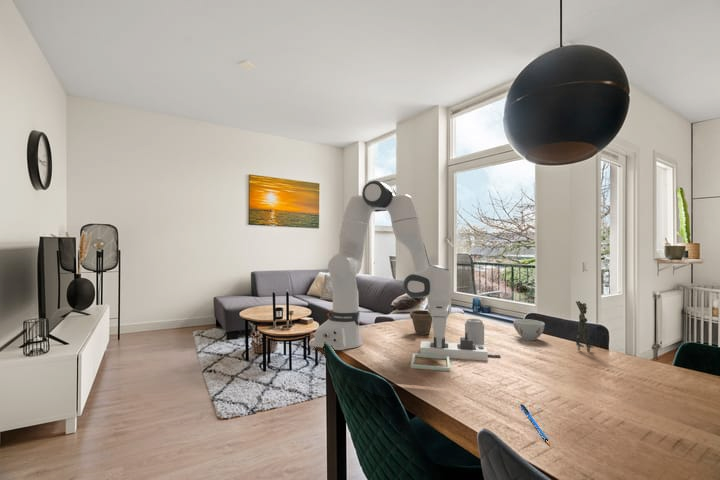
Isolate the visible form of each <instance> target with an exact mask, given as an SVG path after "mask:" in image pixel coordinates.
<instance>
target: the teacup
mask: <svg viewBox="0 0 720 480" xmlns="http://www.w3.org/2000/svg"><path fill="white" fill-rule="evenodd" d="M512 324H513V328H514V329H515V331H516V333H517V334H518V336H520V337H521V338H522V339H523V340H525V341H537V339H538V338H540V337H541V335H542V334H543V333H544V330H545V325H546V324H545V322H544V321H541V320H536V319H528V318H524V319H522V318H517V319H515V320H513V323H512Z"/></svg>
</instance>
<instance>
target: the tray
mask: <svg viewBox="0 0 720 480" xmlns="http://www.w3.org/2000/svg"><path fill="white" fill-rule="evenodd" d="M411 356H412V357H411V361H410V369H421V370H432V371H433V370H435V371H442V372H443V371H445V372H451V364H450V362H451V361H450V358H449V356H446V355H432V354H420V353H414V352H413V353H412V355H411ZM416 358H426V359H428V358H430V359H442V360H446V364H447V365H446V366H444V365H443V366H442V365H441V366H439V365H430V364H429V365H427V364H416V363H415V360H416Z"/></svg>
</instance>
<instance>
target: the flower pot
mask: <svg viewBox="0 0 720 480" xmlns="http://www.w3.org/2000/svg"><path fill="white" fill-rule="evenodd" d="M409 317H410V319H411V320H412V324H413V328H414V331H415V334H417V335H420V336H425V335H426V336H427V335H430V333H431V328H432V325H433V323H432V317H431V316H430V313H429V312H428V310H426V309H425V310H424V309H423V310H422V309H421V310H420V309H418V310H413V311H410V312H409Z"/></svg>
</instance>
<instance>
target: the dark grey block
mask: <svg viewBox="0 0 720 480" xmlns="http://www.w3.org/2000/svg"><path fill="white" fill-rule="evenodd" d="M445 336H446V335H445ZM445 336H444V338H442V347H441V348H445V343H446V337H445ZM433 342H434V348H437V341H436V338H435V337H434V336H433Z"/></svg>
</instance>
